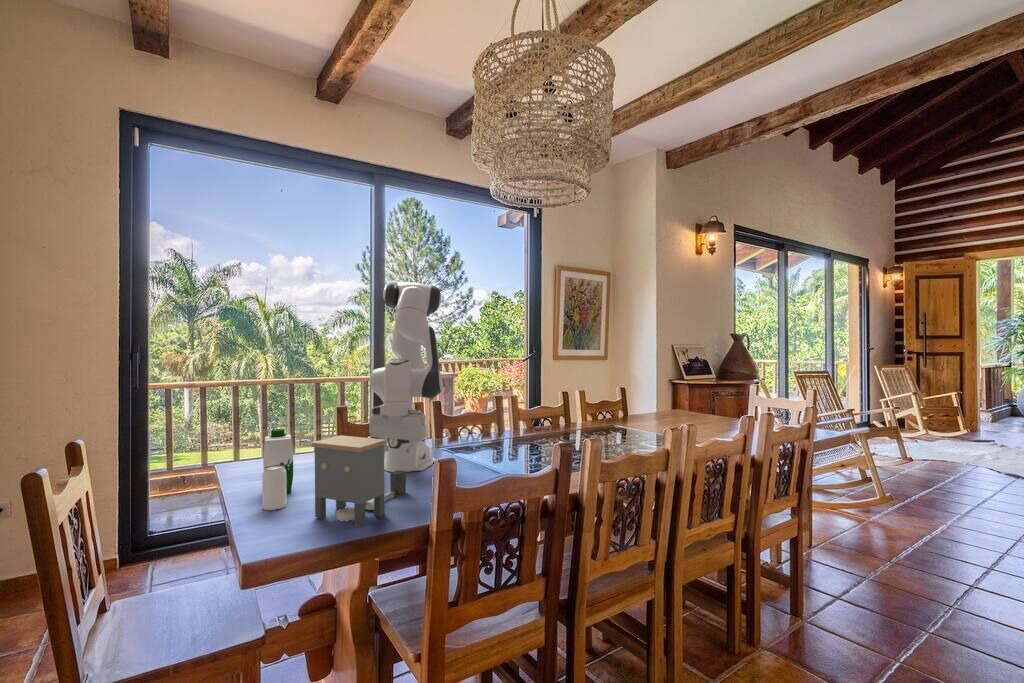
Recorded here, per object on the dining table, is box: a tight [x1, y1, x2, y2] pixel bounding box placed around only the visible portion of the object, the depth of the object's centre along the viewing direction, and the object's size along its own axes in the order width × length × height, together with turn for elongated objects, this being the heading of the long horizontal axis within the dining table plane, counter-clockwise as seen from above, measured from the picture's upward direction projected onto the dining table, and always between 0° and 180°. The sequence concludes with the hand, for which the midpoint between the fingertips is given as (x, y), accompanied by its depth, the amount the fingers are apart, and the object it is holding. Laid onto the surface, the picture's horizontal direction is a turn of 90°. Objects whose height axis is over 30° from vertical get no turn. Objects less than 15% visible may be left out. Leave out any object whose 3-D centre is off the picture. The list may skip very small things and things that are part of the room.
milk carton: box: [262, 428, 294, 495], centre depth 164 cm, size 9×9×20 cm
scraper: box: [365, 470, 407, 511], centre depth 155 cm, size 18×7×7 cm, turn 156°
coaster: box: [335, 506, 355, 522], centre depth 140 cm, size 6×6×2 cm
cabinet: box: [311, 434, 388, 527], centre depth 141 cm, size 11×17×21 cm, turn 66°
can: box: [261, 465, 288, 511], centre depth 149 cm, size 6×6×12 cm
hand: (397, 452), depth 161 cm, fingers open, 8 cm apart
